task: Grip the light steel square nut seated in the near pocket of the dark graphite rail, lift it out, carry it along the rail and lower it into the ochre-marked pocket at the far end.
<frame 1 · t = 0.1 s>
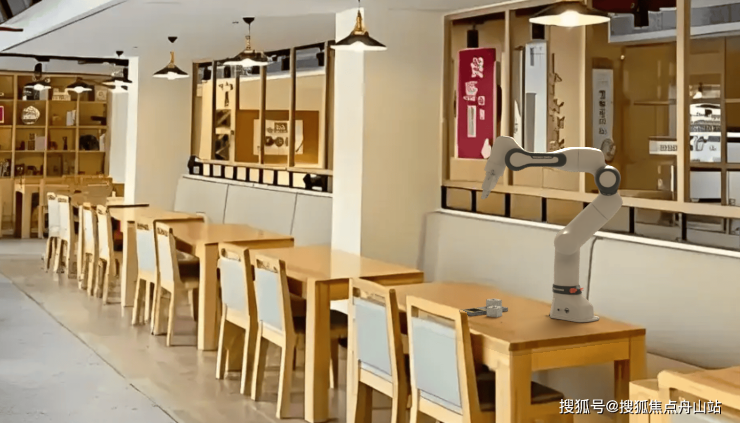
hand: (484, 198, 396), 52 cm above the table, tool tilted 20°, fingers open, 8 cm apart
rail: (483, 314, 391), on the table
nut: (493, 310, 395), point 1 cm above the table, touching rail
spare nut: (494, 318, 383), on the table
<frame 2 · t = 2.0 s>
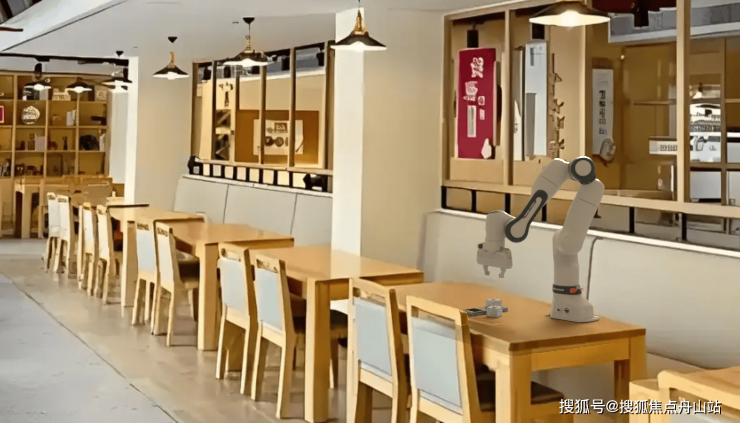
hand: (494, 276, 394), 17 cm above the table, tool pointing down, fingers open, 8 cm apart
nothing on the table moved.
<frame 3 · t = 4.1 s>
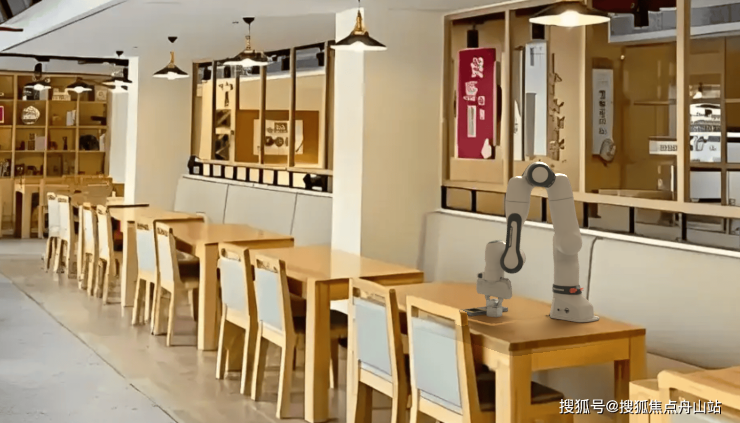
hand: (493, 306, 395), 3 cm above the table, tool pointing down, fingers closed on nut, 5 cm apart
nut: (493, 310, 395), point 1 cm above the table, touching gripper, rail
everything else where it was.
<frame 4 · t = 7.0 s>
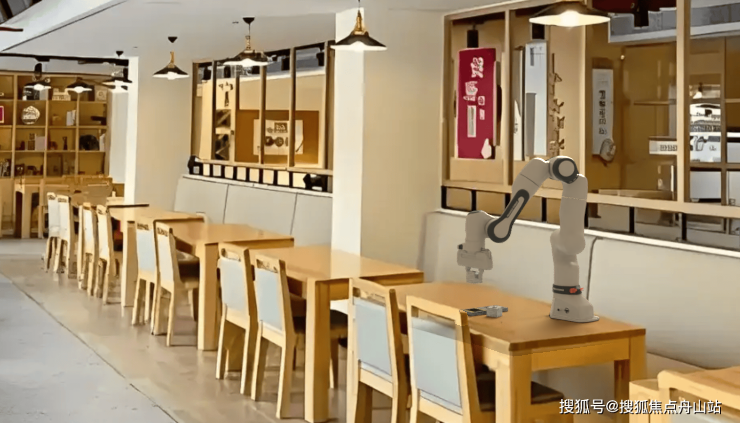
hand: (474, 277, 387), 17 cm above the table, tool pointing down, fingers closed on nut, 5 cm apart
nut: (474, 282, 387), point 15 cm above the table, touching gripper
everything else where it was.
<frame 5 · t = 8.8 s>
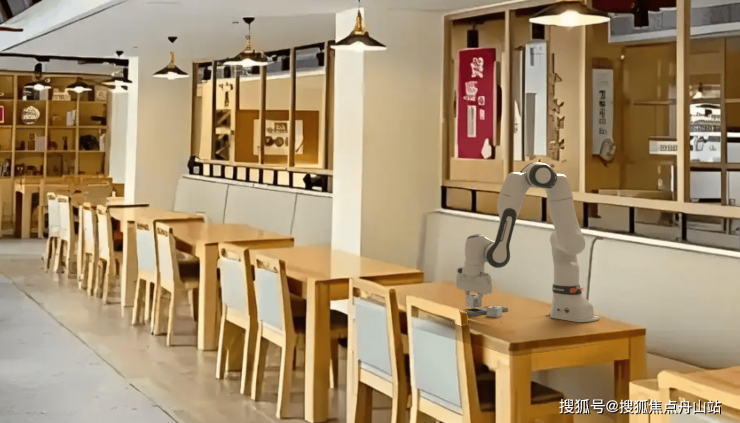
hand: (473, 301, 387), 6 cm above the table, tool pointing down, fingers closed on nut, 5 cm apart
nut: (473, 306, 388), point 4 cm above the table, touching gripper
everything else where it was.
when the fingers open (4 cm above the table, at t = 10.2 s): nut stays where it is, resting on rail.
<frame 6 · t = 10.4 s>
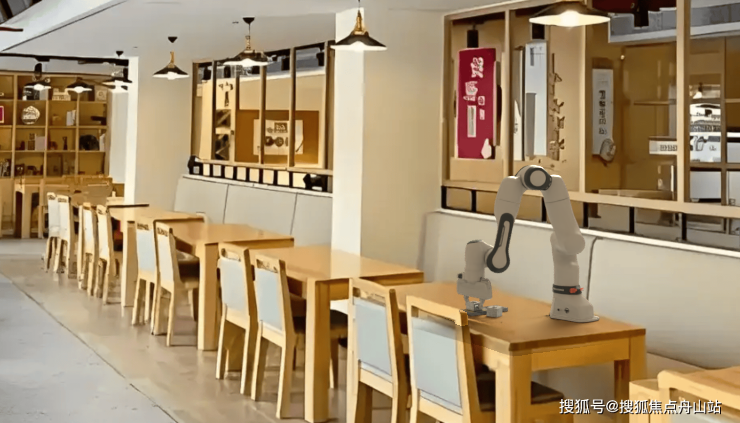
hand: (474, 307, 388), 4 cm above the table, tool pointing down, fingers open, 7 cm apart
nut: (474, 313, 388), point 1 cm above the table, touching rail
everything else where it was.
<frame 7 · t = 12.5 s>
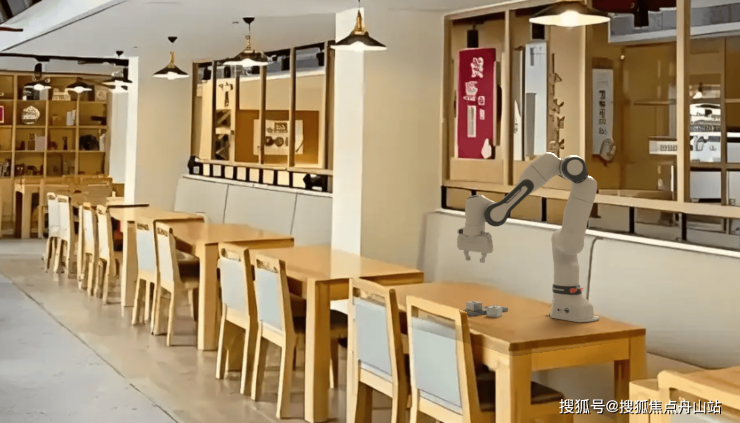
hand: (475, 261, 392), 24 cm above the table, tool pointing down, fingers open, 8 cm apart
nothing on the table moved.
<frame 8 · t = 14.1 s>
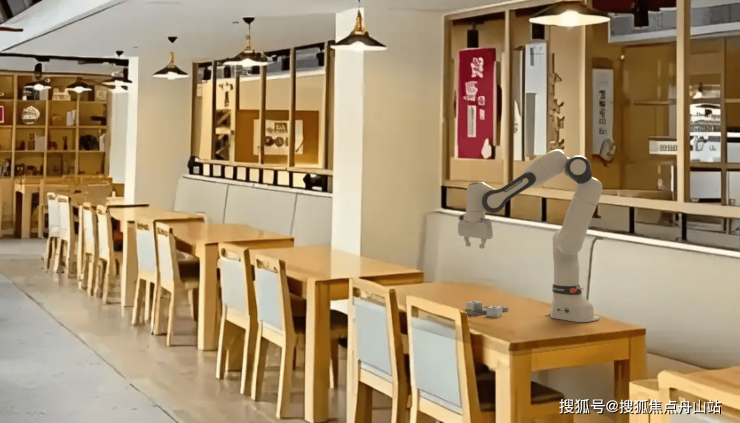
hand: (474, 247, 399), 29 cm above the table, tool pointing down, fingers open, 8 cm apart
nothing on the table moved.
at the end: nut 0.0 cm from the target spot on the rail, point 1.1 cm above the rail's base; nut tilted 0°; the gripper is holding nothing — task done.
